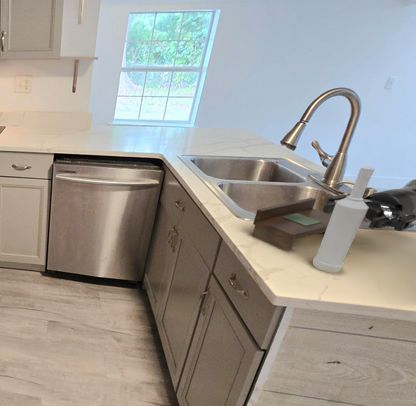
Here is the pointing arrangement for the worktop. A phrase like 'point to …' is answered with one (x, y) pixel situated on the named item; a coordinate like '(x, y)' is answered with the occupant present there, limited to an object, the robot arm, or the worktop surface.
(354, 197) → the bottle
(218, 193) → the worktop surface
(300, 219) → the shelf
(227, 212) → the worktop surface
